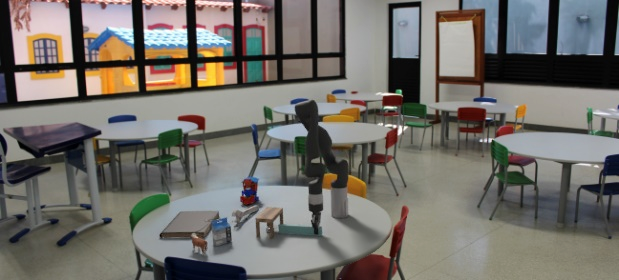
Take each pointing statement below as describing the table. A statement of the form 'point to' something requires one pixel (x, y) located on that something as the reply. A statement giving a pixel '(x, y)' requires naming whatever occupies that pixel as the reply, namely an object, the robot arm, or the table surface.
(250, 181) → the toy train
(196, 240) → the bull figurine
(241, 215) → the wrench
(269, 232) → the puck
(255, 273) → the table surface
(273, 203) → the table surface
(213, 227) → the label tape box
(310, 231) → the long teal stick
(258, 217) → the bench
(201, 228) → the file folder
